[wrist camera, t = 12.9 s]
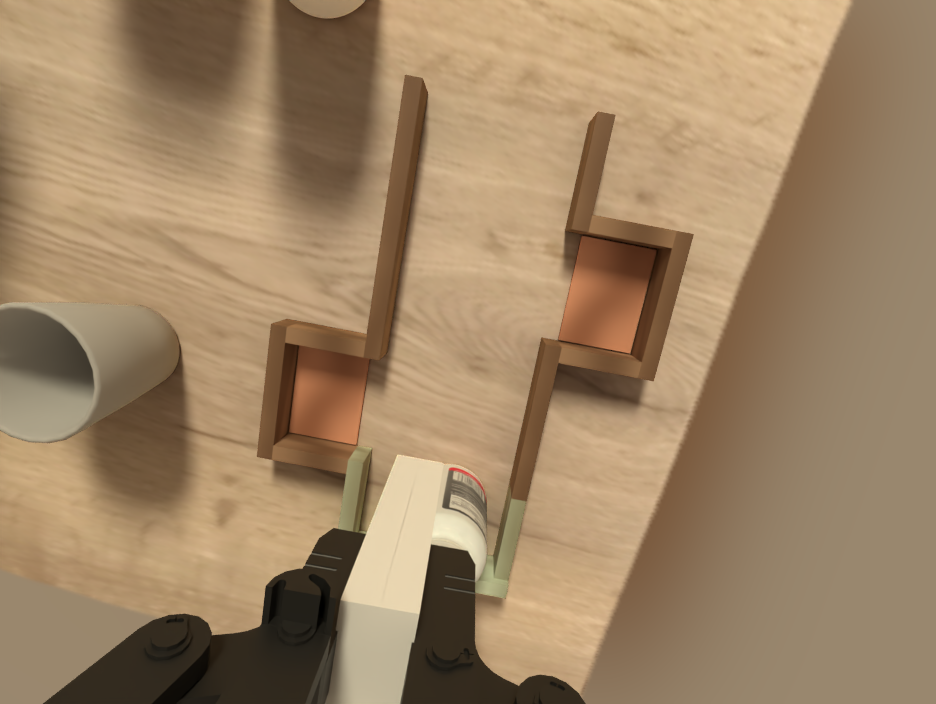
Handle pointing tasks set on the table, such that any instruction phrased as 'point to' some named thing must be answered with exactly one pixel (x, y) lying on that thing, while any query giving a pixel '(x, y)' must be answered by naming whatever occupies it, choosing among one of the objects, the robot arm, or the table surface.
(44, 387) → the cup
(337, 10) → the can
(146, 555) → the table surface
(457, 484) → the pill bottle
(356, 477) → the trap lane
